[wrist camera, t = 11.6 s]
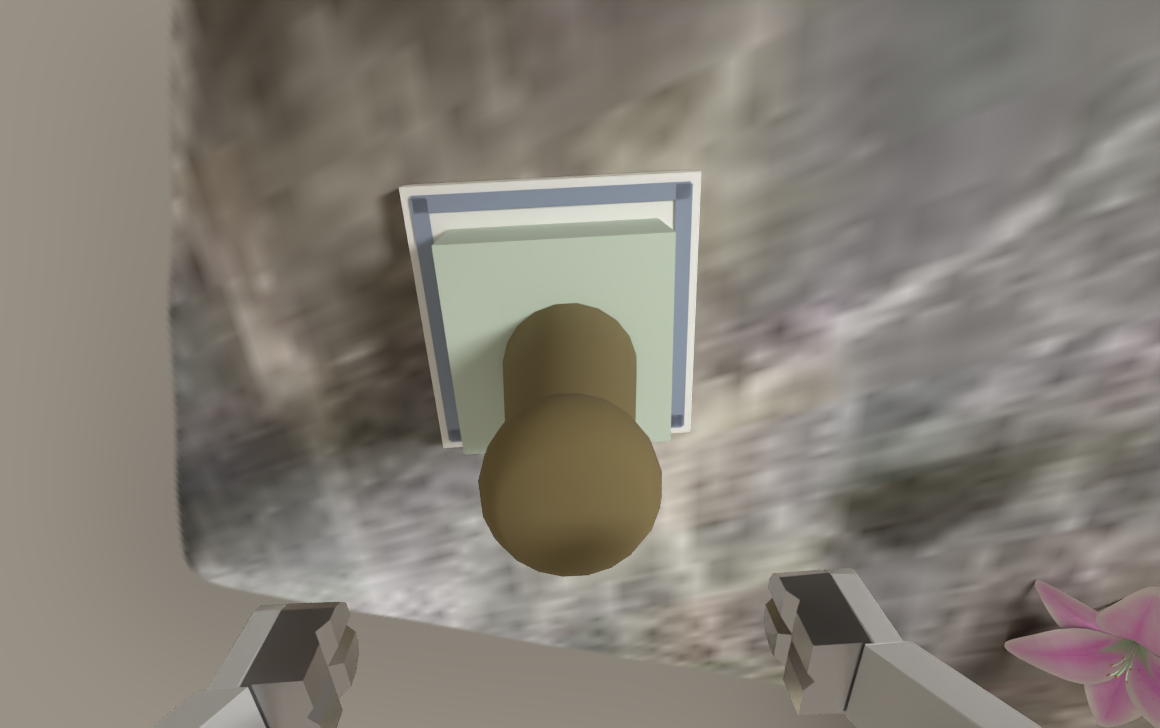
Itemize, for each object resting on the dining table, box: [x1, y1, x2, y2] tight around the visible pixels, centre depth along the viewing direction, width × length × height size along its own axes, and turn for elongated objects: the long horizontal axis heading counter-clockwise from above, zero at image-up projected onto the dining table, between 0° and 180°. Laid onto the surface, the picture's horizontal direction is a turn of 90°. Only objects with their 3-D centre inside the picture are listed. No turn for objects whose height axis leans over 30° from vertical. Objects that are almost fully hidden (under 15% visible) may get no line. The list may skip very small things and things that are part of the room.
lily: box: [1004, 580, 1160, 728], centre depth 36 cm, size 12×12×10 cm
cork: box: [478, 303, 662, 576], centre depth 19 cm, size 6×6×11 cm
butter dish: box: [399, 170, 701, 455], centre depth 26 cm, size 14×14×5 cm
